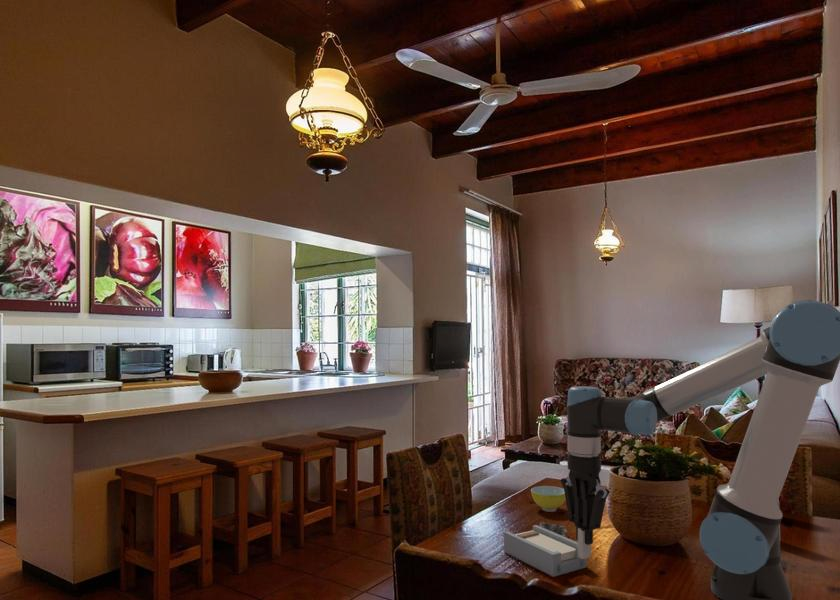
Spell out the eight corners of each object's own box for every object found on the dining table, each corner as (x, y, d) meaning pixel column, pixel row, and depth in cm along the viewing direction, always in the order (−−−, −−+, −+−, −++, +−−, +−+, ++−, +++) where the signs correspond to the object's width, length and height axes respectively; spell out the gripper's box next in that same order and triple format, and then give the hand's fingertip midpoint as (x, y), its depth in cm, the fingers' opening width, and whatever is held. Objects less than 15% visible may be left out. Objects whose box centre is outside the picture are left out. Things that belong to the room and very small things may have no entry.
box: (586, 567, 139) (586, 545, 139) (553, 576, 133) (552, 554, 133) (536, 543, 154) (536, 524, 154) (504, 551, 148) (504, 532, 149)
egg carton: (567, 549, 151) (567, 533, 151) (538, 546, 153) (538, 531, 153) (567, 535, 161) (567, 520, 162) (540, 533, 163) (539, 518, 163)
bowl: (524, 506, 188) (524, 487, 188) (555, 503, 191) (555, 484, 192) (542, 516, 177) (541, 496, 177) (574, 513, 180) (574, 493, 181)
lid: (577, 557, 139) (577, 547, 139) (553, 563, 135) (553, 553, 135) (533, 537, 153) (532, 528, 153) (510, 542, 149) (510, 533, 149)
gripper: (617, 457, 130) (618, 563, 128) (575, 446, 141) (575, 544, 140) (594, 460, 126) (594, 570, 124) (552, 449, 137) (552, 550, 136)
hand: (584, 556), depth 132 cm, fingers closed
